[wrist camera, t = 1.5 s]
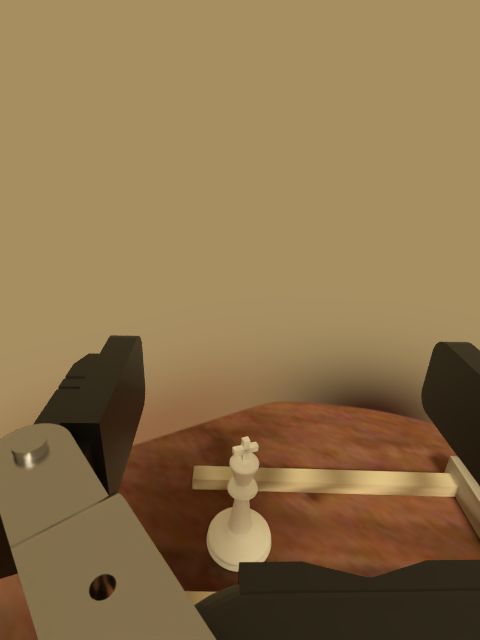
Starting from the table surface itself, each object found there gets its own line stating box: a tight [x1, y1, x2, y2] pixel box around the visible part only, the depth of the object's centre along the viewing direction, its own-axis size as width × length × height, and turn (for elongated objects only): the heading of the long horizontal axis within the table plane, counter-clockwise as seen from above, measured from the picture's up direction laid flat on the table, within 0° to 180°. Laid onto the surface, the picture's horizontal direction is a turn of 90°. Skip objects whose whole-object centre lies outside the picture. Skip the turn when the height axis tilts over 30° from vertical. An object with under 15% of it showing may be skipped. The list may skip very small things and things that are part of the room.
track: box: [185, 456, 480, 605], centre depth 30 cm, size 25×14×2 cm, turn 90°
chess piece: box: [207, 436, 271, 572], centre depth 28 cm, size 5×5×10 cm
